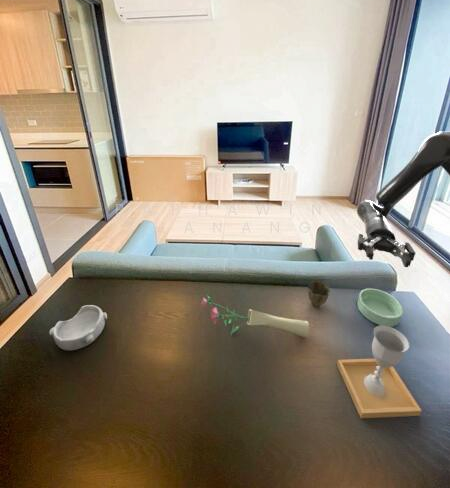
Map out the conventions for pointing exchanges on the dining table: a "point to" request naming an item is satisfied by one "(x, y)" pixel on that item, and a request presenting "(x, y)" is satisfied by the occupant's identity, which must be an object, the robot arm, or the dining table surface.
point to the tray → (370, 405)
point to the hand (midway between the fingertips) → (389, 260)
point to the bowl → (380, 307)
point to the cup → (317, 293)
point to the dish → (79, 328)
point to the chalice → (385, 356)
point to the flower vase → (263, 320)
